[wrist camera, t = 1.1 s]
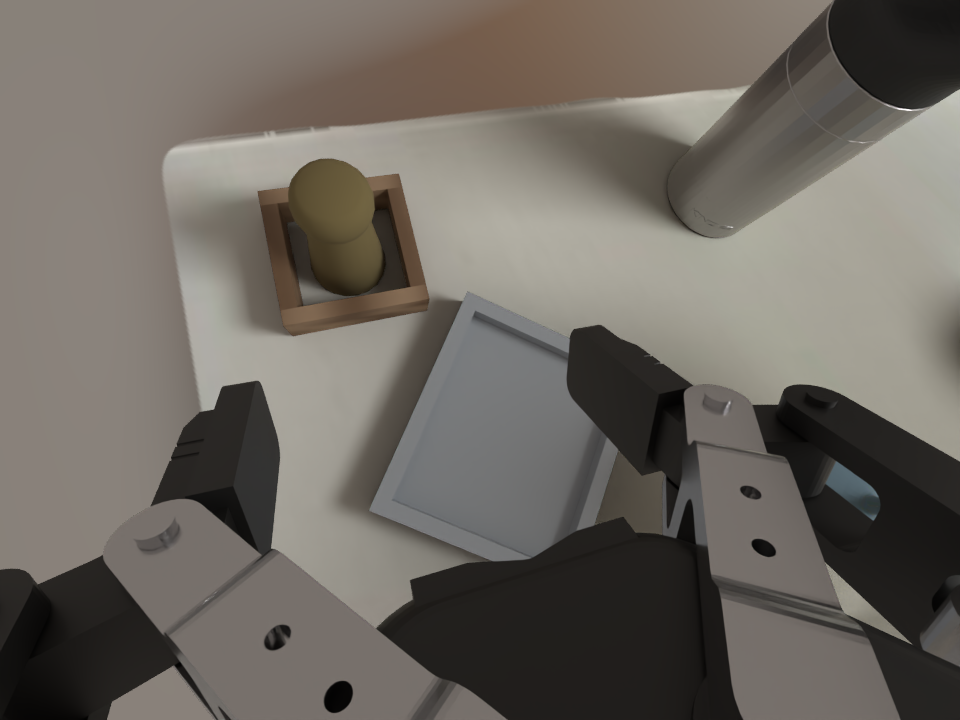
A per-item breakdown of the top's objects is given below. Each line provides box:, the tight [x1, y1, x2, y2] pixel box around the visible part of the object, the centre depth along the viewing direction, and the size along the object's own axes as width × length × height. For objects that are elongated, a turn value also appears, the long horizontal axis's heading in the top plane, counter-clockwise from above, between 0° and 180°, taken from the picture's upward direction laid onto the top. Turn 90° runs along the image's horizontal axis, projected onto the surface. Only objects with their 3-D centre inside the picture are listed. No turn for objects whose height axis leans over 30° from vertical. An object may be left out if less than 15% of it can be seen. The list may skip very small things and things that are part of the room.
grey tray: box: [369, 291, 618, 561], centre depth 36 cm, size 18×16×2 cm
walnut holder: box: [258, 174, 429, 336], centre depth 36 cm, size 11×11×3 cm
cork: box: [288, 159, 386, 296], centre depth 32 cm, size 6×6×11 cm
